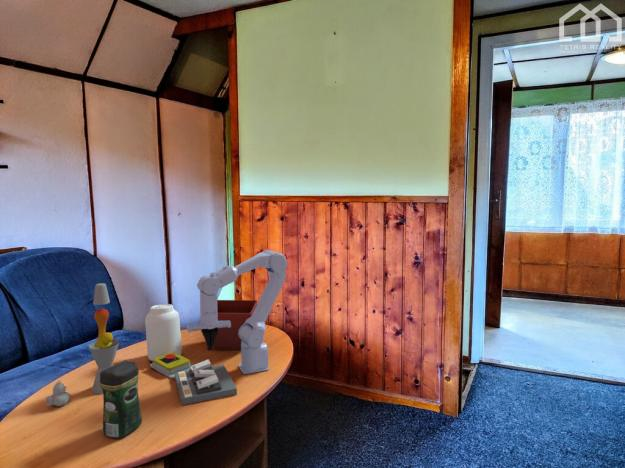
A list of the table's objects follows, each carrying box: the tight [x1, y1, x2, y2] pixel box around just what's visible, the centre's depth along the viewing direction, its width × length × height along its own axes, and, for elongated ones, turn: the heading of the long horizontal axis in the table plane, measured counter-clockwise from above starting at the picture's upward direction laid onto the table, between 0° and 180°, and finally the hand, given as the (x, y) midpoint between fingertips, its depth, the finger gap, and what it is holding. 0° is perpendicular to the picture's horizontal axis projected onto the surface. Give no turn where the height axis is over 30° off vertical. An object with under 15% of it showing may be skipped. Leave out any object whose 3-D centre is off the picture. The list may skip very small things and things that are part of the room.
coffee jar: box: [100, 359, 143, 439], centre depth 116 cm, size 10×8×19 cm
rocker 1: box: [190, 359, 212, 373], centre depth 148 cm, size 6×4×1 cm, turn 113°
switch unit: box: [174, 364, 238, 406], centre depth 142 cm, size 17×20×4 cm
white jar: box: [144, 303, 183, 362], centre depth 166 cm, size 12×12×20 cm
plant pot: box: [212, 299, 258, 351], centre depth 178 cm, size 19×19×17 cm
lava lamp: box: [88, 283, 120, 395], centre depth 140 cm, size 9×9×35 cm
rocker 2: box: [194, 370, 215, 377], centre depth 142 cm, size 6×4×1 cm, turn 114°
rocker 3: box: [196, 375, 219, 389], centre depth 136 cm, size 6×4×1 cm, turn 113°
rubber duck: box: [45, 380, 71, 407], centre depth 129 cm, size 5×7×8 cm
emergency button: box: [150, 352, 192, 380], centre depth 155 cm, size 9×4×15 cm
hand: (209, 349), depth 147 cm, fingers closed
